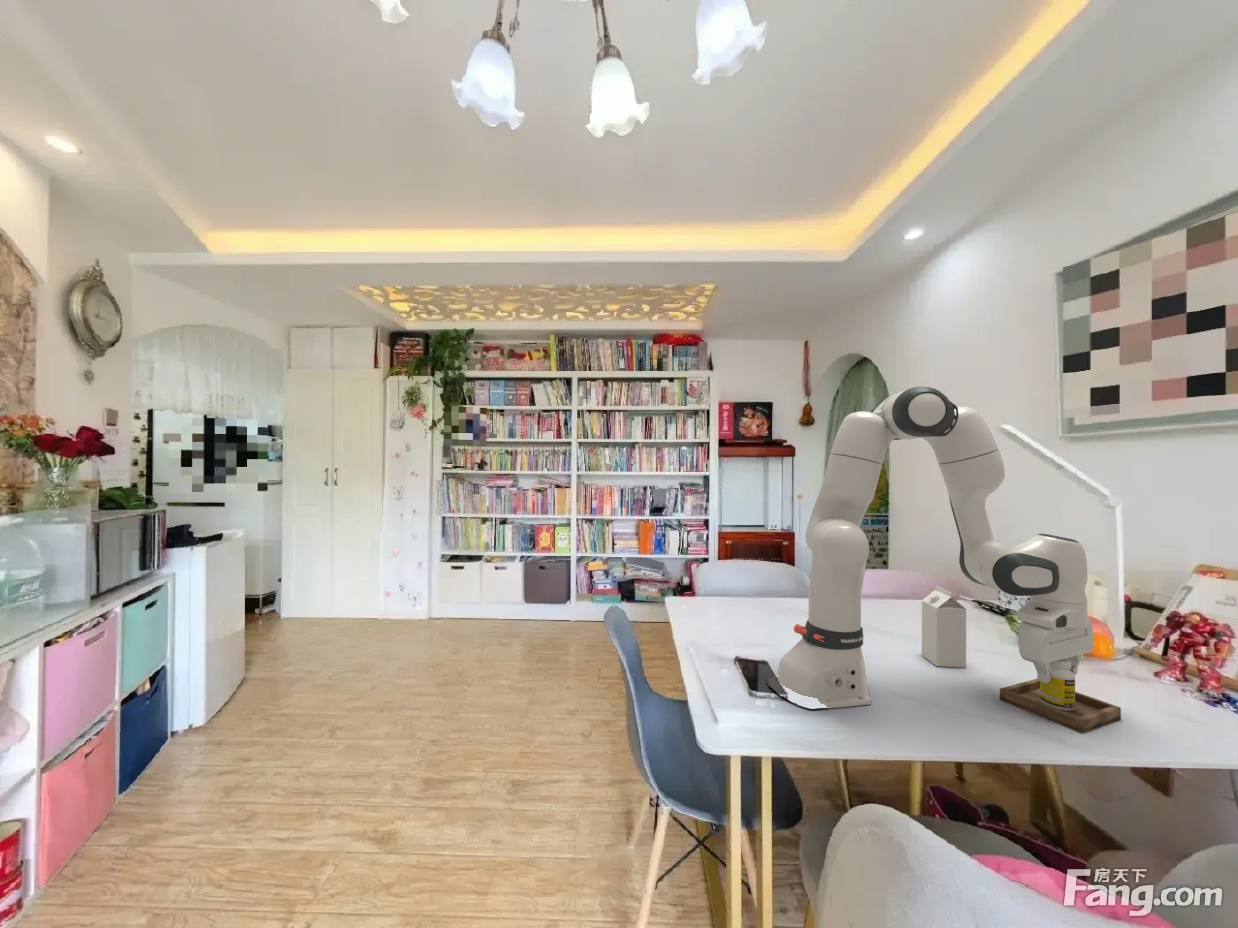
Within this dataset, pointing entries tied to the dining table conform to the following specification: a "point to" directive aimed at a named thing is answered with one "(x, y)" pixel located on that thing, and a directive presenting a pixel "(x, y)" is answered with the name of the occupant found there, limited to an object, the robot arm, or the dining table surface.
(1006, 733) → the dining table surface
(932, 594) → the milk carton
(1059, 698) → the supplement bottle
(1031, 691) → the tray
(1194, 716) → the dining table surface
